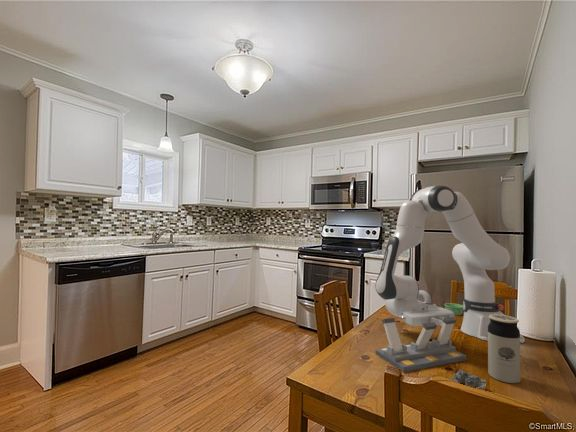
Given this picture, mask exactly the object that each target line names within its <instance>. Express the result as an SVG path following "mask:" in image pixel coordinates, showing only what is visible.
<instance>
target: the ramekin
mask: <svg viewBox="0 0 576 432" xmlns="http://www.w3.org/2000/svg"><path fill="white" fill-rule="evenodd" d="M444 309H447V310H450V311H452V312H453V313H454V316H463V315H464V310H463V304H460V303H454V302H446V303H444Z"/></svg>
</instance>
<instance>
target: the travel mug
mask: <svg viewBox="0 0 576 432" xmlns="http://www.w3.org/2000/svg"><path fill="white" fill-rule="evenodd" d="M489 318H490V323H489V325H488V341H487V371H488V372H487V374H488V375H489V376H491V377H492V378H493V379H495V380H497V381H499V382H502V383H507V384H518V383H520V382H521V343H520V334H521V332H520V328H519V327H518V323H519V321H520V320H519V319H518V318H516V317H515V316H514V317H513V316H510V315H505V314H504V315H499V314H492V315H489Z"/></svg>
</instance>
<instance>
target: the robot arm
mask: <svg viewBox="0 0 576 432" xmlns="http://www.w3.org/2000/svg"><path fill="white" fill-rule="evenodd" d="M436 212H438V213H439V212H440V213H442V214H443V216H444V218H445V220H446V223H447V225H448V227H449V229H450V231H451V233H452V235H453V236H454V238H455V239H456V240H458V241H460V242H461V243H458V244H455V246H454V247H453V248H452V252H451V254H452V259H453V260H454V261H455V262H456V263H457V265H458V266H459V270H460V271H461V275H462V278H463V289H464V292H463V293H464V298H463V299H462V300H463V301H462V306H463V318H462V324H461V327H460V328H459V329H460V331H461V332H462V333H463V334H465V335H468V336H471V337H475V338H477V339H480V340H483V341H487V342H488V325H489V323H490V318H489V315H492V314H499V315H505V314H504V313H503V312H502V311H504V310H505V306H504V305H503V304H501V303H499V302H496V301H495V298H496V297H495V292H496V291H495V283H494V281H493V280H492V279H491V278H490V277H489V276H488V274H487V272H486V270H487V271H499V270H500V271H501V270H503V269H505V268H507V267H508V265H509V263H510V261H511V255H510V252H509V251H508V249H507V248H505V247H504V246H502V245H500V244H499V243H497V242H496V241H495V240H494V239H493V238H492V237H491V236H490V235H489V233H487V232H486V231H485V230H484V228H483V226H482V225H481V223H480V221H479V219H478V218H477V215H476V213H475V211H474V209H473V207H472V205H471V204H470V202H469V201H468V199H467V198H466V197H465V195H463V193H461V192H459V191H454V190H453V189H452V188H451V187H448V186H445V185H432V186H427V187H424V188H420V189H417V190H416V191H414V192H413V194H412V195H411V197H410V199H409V200H407V201H404V202H402V204H401V205H400V208H399V211H398V215H397V221H396V227H395V231H394V234H393V235H392V237H390V238H389V240H388V241H387V244H386V248H385V250H384V253H383V258H382V262H381V267H380V270H379V274H378V276H377V279H376V281H375V284H374V288H375V291H376V294H378V296H380V298H381V299H382V300H384V303H385V304H384V305H385V308H386V309H387V311H388V312H389V313H390V314H392V315H393V316H395V317H398V318H400V319H402V321H403V322H404V323H405V324H407V325H408V326H411V327H423V325H424V323H431V322H434V323H435V324H436V325H437V326H441V327H442V325H443V319H444V318H450V317H453V318H455V319H456V317H455V315H454V313H453V312H452V311H450V310H447V309H445V307H440V306H437V304H435V303H432V302H431V303H422V302H423V301H422V302H418V301H417V299H418V294H419V290H420V288H419V287H420V286H419V282H418V281H417V279H416V278H414V277H413V276H411V275H395V273H396V269H397V265H398V260H399V257H400V256H401V254H403V253H404V252H405V251H407V250H410V249H413V248H415V247H416V246H418V245H419V244H421V242H422V241H423V239H424V235H425V227H426V226H425V224H426V223H425V222H426V217H427V216H428V214H429V213H436ZM525 340H526V339H525V337H524V336H523V335H522V334H521V333H520V344H521V343H522V344H524V343H525V342H526V341H525Z"/></svg>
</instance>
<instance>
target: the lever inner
mask: <svg viewBox="0 0 576 432" xmlns="http://www.w3.org/2000/svg"><path fill="white" fill-rule="evenodd" d="M456 322H457V319H456V317H455V318H453V317H450V318H444V319H443V325H442V326H441V328H440V330H439V334H438V337H437V339H436V340H438V341H440V345H444V344H447V343H448V340H449V339H450V337H451V334H452V332H453V329H454V326H455V324H456Z"/></svg>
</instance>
